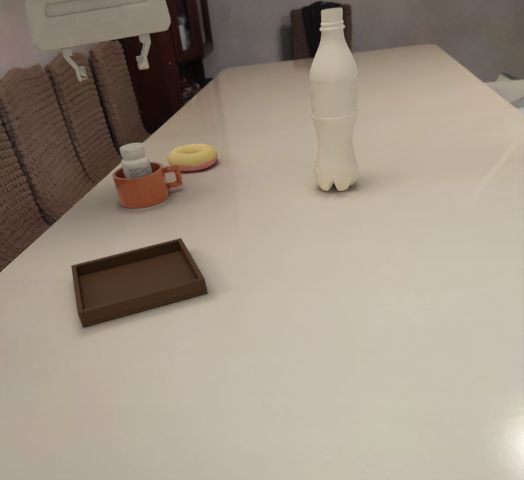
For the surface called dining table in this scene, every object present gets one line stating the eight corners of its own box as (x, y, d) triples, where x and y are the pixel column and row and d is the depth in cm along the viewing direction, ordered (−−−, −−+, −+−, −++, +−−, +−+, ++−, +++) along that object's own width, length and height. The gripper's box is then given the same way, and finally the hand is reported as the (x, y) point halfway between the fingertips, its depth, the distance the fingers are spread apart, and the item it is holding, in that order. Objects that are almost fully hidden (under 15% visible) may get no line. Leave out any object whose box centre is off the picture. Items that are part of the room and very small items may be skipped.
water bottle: (310, 194, 87) (300, 15, 72) (319, 178, 92) (312, 8, 77) (354, 194, 85) (353, 10, 70) (361, 178, 90) (361, 3, 75)
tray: (83, 327, 62) (77, 313, 61) (75, 278, 72) (71, 265, 71) (207, 293, 65) (204, 279, 64) (183, 250, 75) (181, 237, 74)
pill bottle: (130, 192, 95) (117, 144, 90) (156, 188, 96) (145, 139, 91) (130, 202, 91) (116, 152, 86) (157, 197, 92) (145, 147, 87)
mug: (123, 212, 90) (115, 183, 87) (117, 196, 96) (109, 168, 93) (189, 196, 92) (183, 168, 89) (178, 182, 99) (173, 155, 96)
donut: (200, 185, 102) (227, 162, 107) (197, 163, 98) (225, 140, 103) (160, 173, 106) (188, 151, 111) (155, 151, 102) (184, 130, 107)
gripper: (154, -46, 78) (175, 60, 86) (11, -25, 74) (47, 83, 82) (163, -47, 73) (183, 64, 82) (10, -25, 69) (48, 90, 77)
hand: (114, 74), depth 82 cm, fingers open, 8 cm apart
